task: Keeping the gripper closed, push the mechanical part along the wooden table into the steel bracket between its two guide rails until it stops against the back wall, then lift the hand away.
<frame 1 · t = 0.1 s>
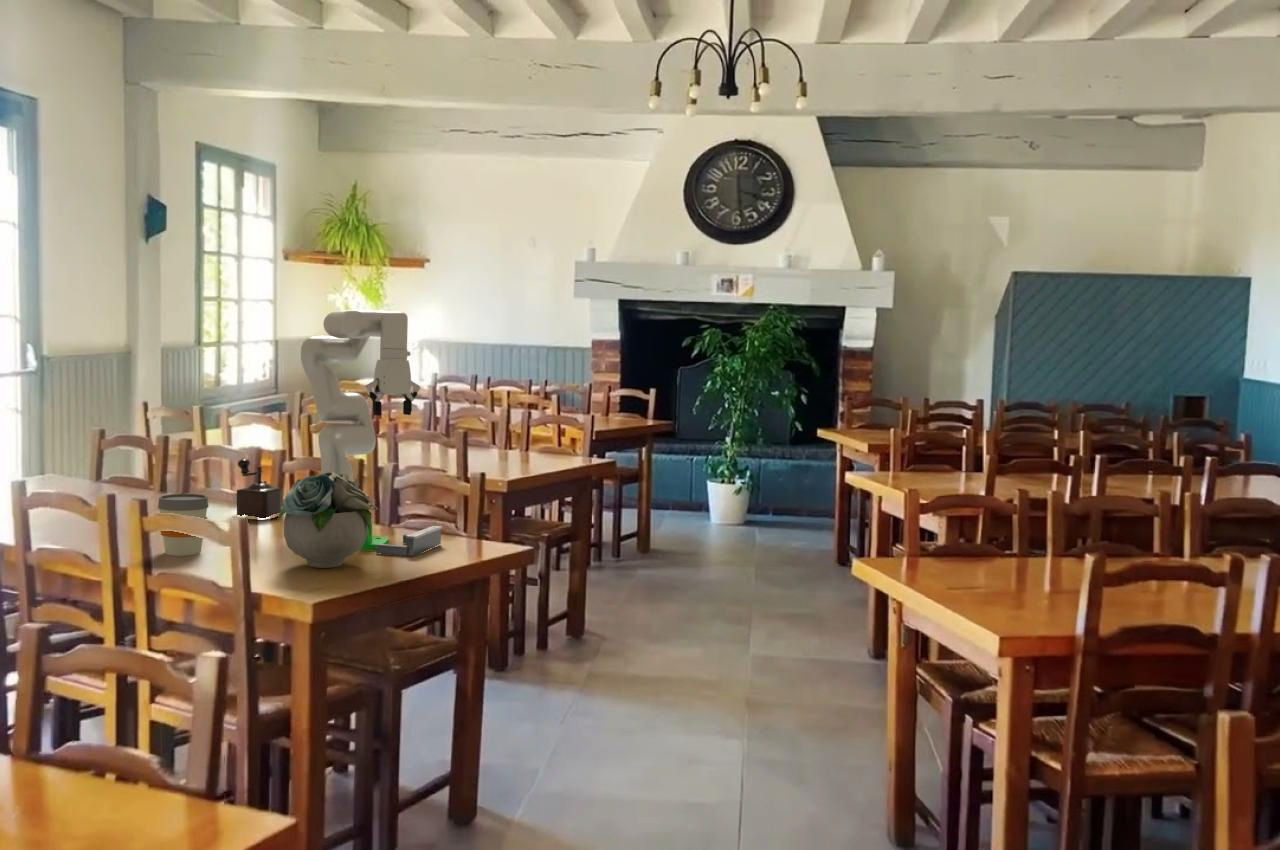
hand: (392, 414, 332), 37 cm above the table, tool pointing down, fingers open, 9 cm apart
manual coffee grinder: (253, 517, 372), on the table
mechanical part: (375, 548, 329), on the table
steel bracket: (409, 549, 327), on the table
flower arrangement: (325, 566, 301), on the table
reusable coffee cup: (183, 553, 311), on the table
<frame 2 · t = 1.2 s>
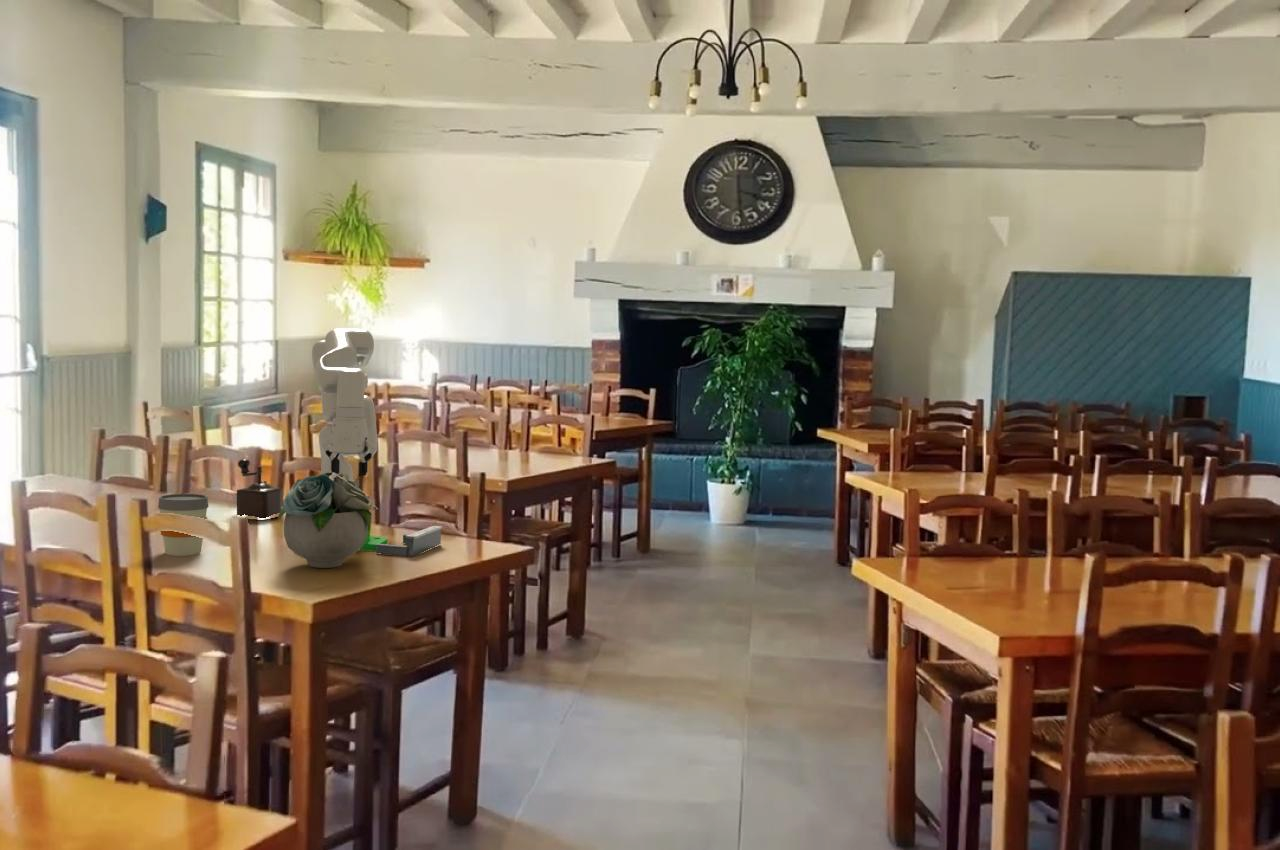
hand: (349, 474, 330), 20 cm above the table, tool pointing down, fingers open, 7 cm apart
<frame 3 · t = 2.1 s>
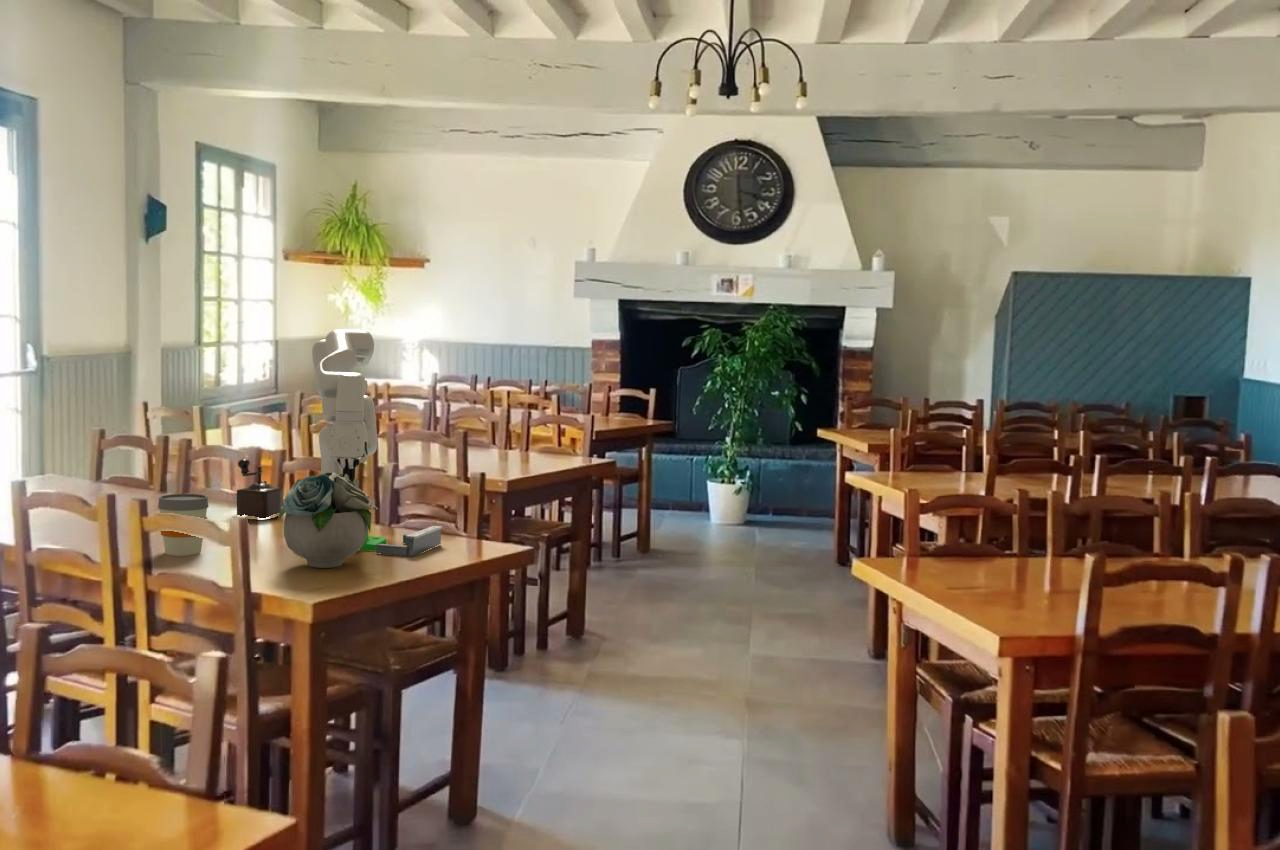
hand: (348, 481, 330), 18 cm above the table, tool pointing down, fingers closed
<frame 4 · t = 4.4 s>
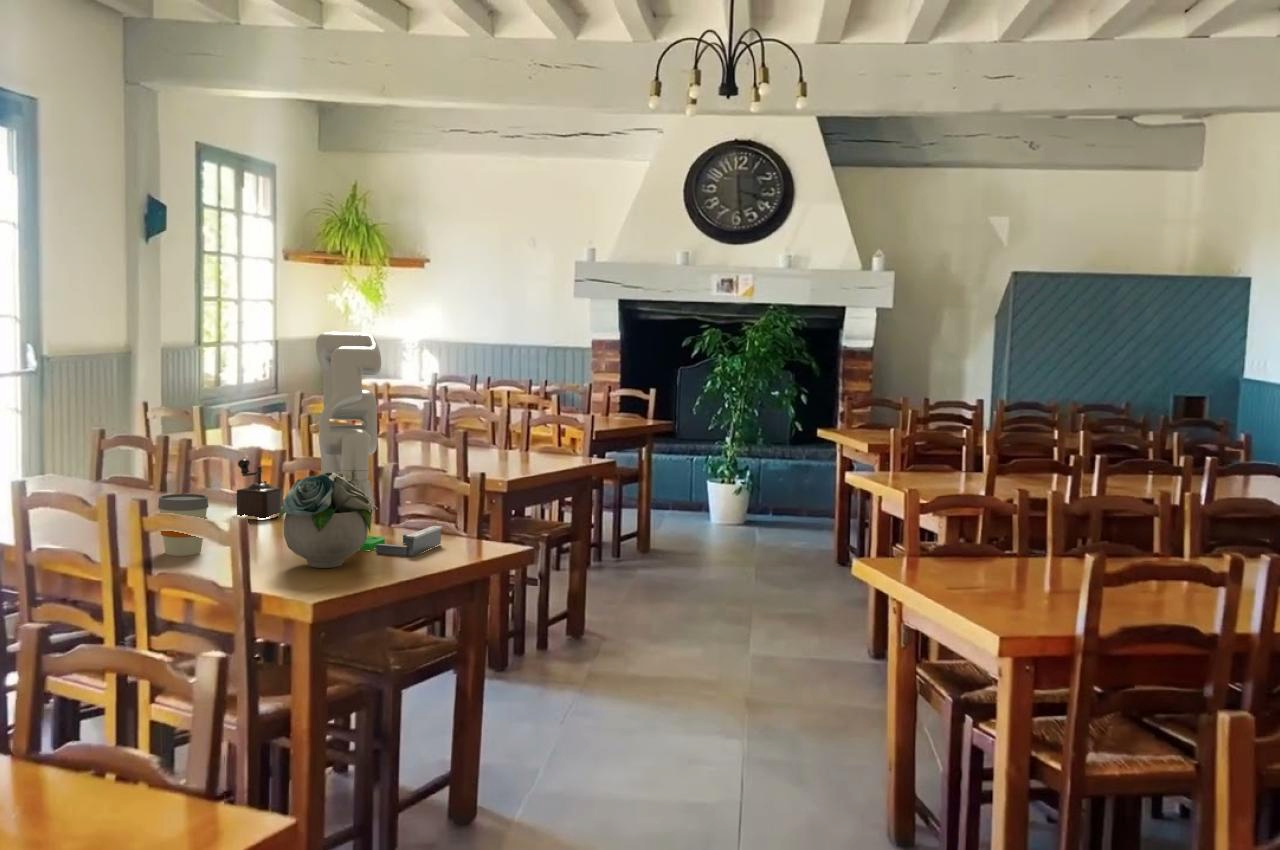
hand: (353, 539, 331), 1 cm above the table, tool pointing down, fingers closed
mechanical part: (369, 547, 329), on the table, touching gripper
everything else where it was.
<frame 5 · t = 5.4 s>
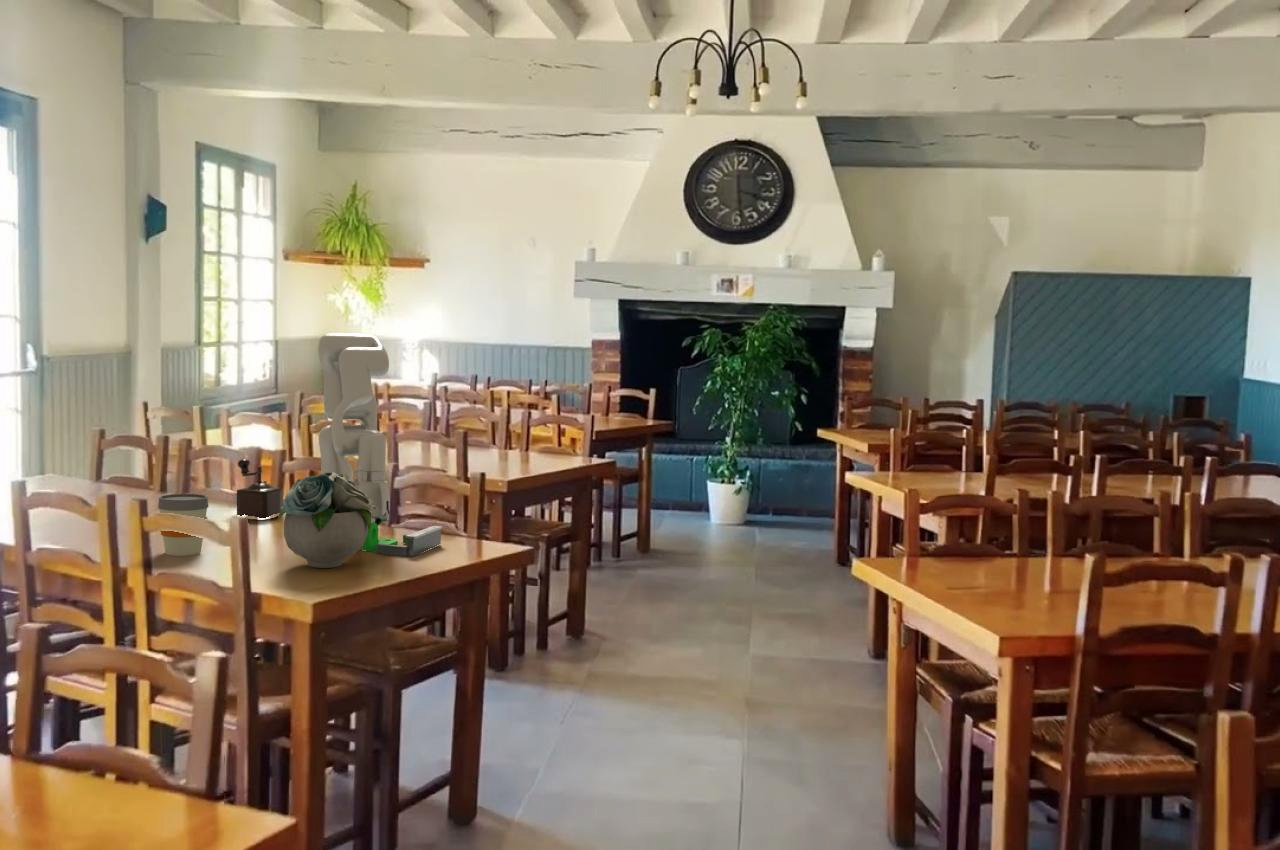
hand: (370, 540, 329), 2 cm above the table, tool pointing down, fingers closed
mechanical part: (381, 549, 327), on the table, touching gripper
everything else where it was.
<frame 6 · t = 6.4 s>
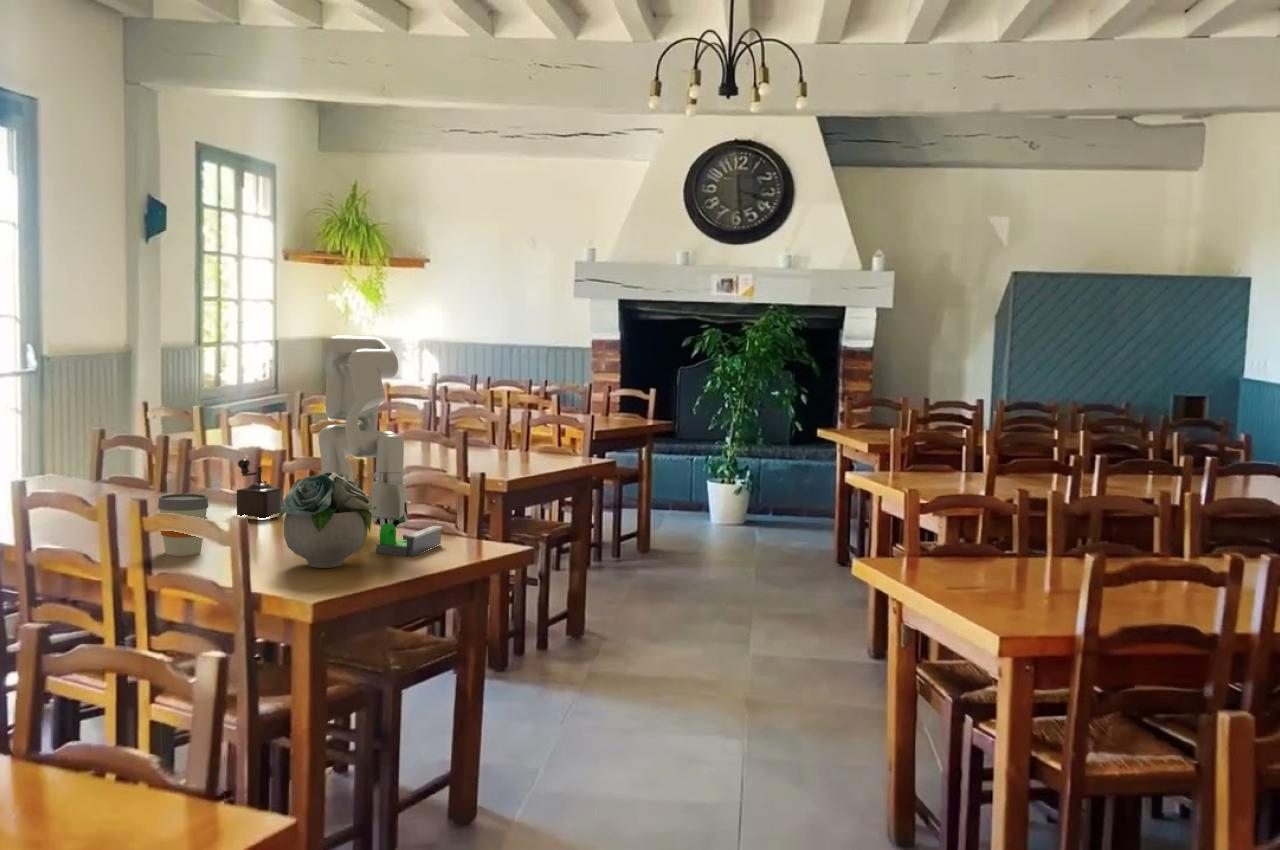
hand: (388, 542, 328), 2 cm above the table, tool pointing down, fingers closed
mechanical part: (399, 551, 326), on the table, touching gripper
everything else where it was.
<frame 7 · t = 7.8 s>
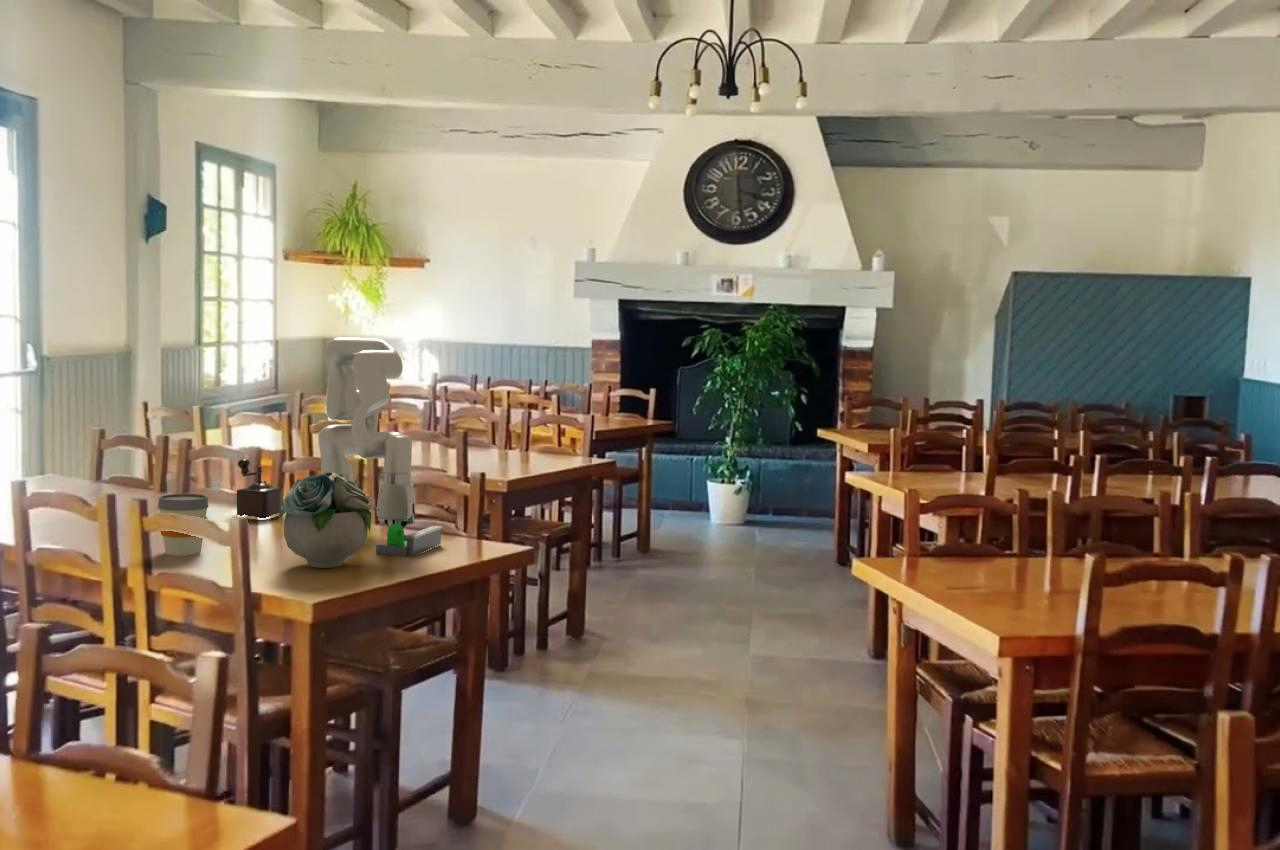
hand: (395, 543, 328), 1 cm above the table, tool pointing down, fingers closed
mechanical part: (407, 552, 325), on the table
everything else where it was.
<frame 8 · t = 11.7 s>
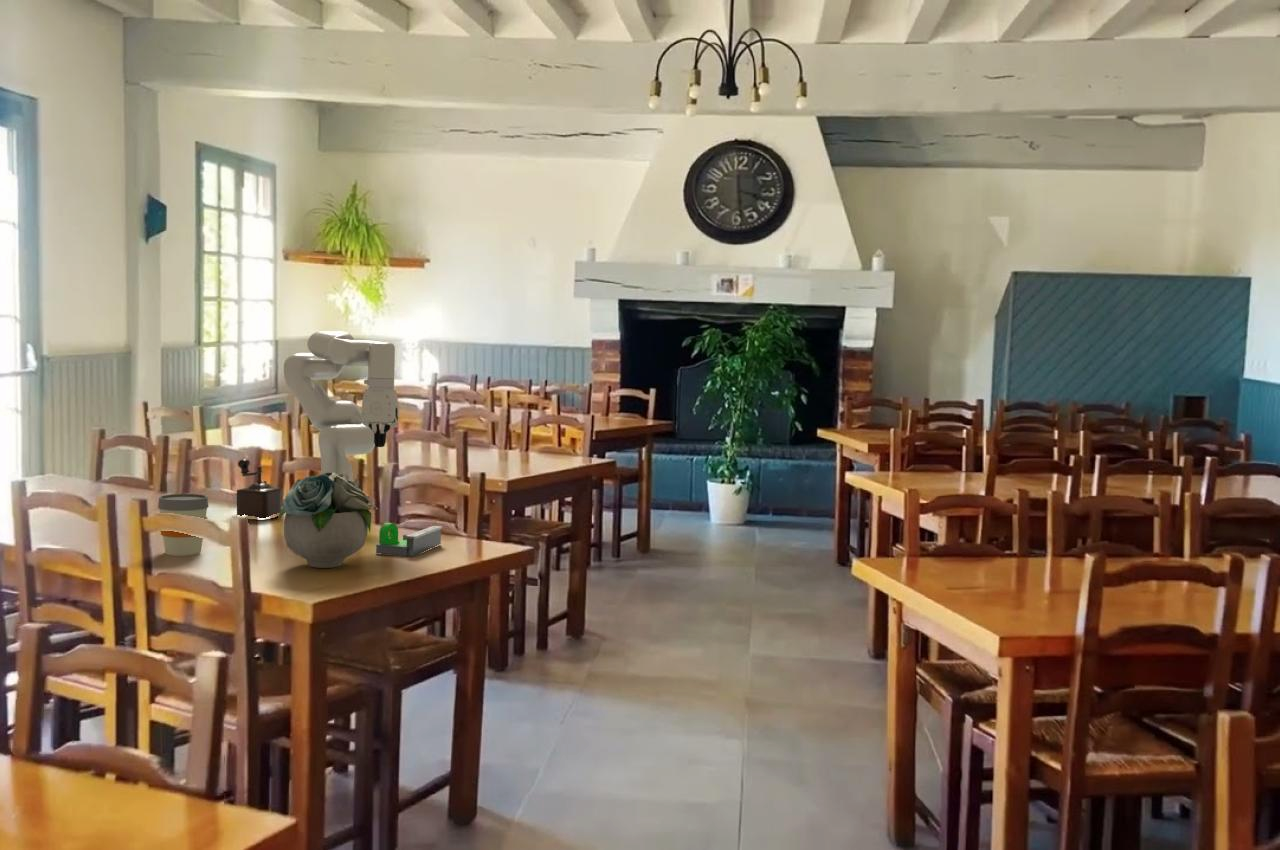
hand: (379, 446, 341), 27 cm above the table, tool pointing down, fingers closed
mechanical part: (401, 551, 326), on the table
everything else where it was.
at the end: mechanical part inside the target area on the steel bracket (1.6 cm from its centre), point -0.5 cm above the steel bracket's base; mechanical part moved 8.3 cm from its start; mechanical part tilted 0° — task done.
